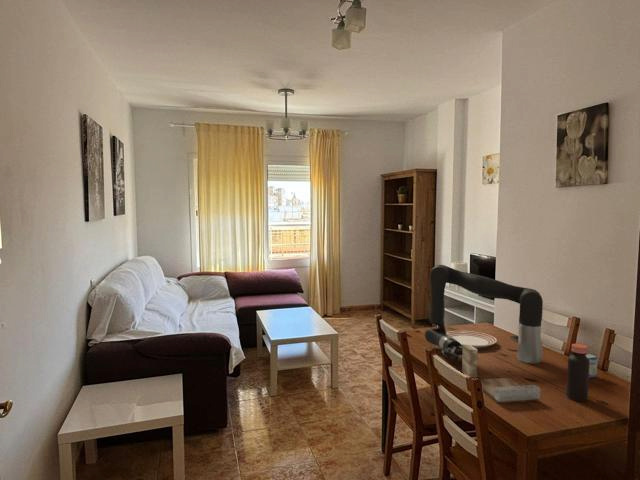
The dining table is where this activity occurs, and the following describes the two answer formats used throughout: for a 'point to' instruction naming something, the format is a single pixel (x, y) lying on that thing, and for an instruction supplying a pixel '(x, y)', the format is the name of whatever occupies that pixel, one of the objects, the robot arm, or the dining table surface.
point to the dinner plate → (472, 338)
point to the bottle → (578, 374)
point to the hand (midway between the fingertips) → (467, 358)
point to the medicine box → (592, 365)
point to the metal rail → (517, 393)
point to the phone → (514, 338)
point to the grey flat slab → (501, 382)
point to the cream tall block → (469, 361)
